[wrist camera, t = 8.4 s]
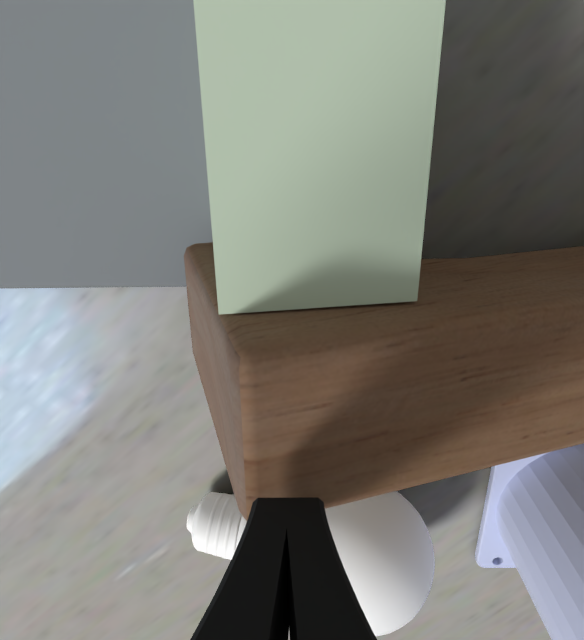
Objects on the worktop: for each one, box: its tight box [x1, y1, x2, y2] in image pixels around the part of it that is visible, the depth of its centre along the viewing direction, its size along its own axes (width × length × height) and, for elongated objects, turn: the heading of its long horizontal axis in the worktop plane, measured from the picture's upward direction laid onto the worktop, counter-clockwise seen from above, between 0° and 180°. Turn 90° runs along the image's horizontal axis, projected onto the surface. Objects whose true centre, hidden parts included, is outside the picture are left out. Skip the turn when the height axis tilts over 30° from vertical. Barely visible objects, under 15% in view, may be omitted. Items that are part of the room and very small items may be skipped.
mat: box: [0, 0, 213, 288], centre depth 16 cm, size 14×12×1 cm
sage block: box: [193, 0, 446, 315], centre depth 13 cm, size 4×8×8 cm, turn 1°
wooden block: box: [184, 242, 584, 521], centre depth 16 cm, size 9×4×18 cm
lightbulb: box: [187, 491, 435, 636], centre depth 21 cm, size 6×6×11 cm
